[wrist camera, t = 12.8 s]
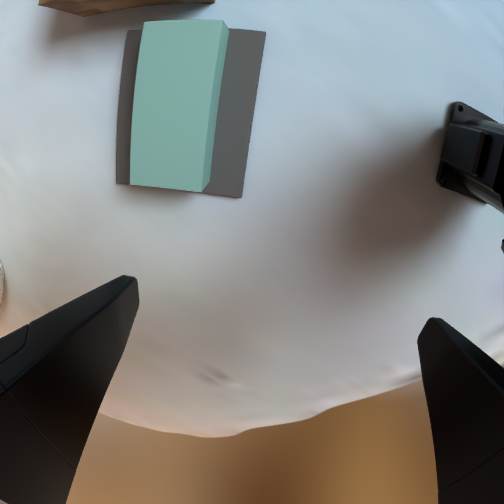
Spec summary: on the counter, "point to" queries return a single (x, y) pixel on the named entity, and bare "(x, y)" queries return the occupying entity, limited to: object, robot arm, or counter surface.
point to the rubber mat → (228, 115)
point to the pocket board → (106, 5)
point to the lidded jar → (1, 281)
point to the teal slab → (177, 103)
